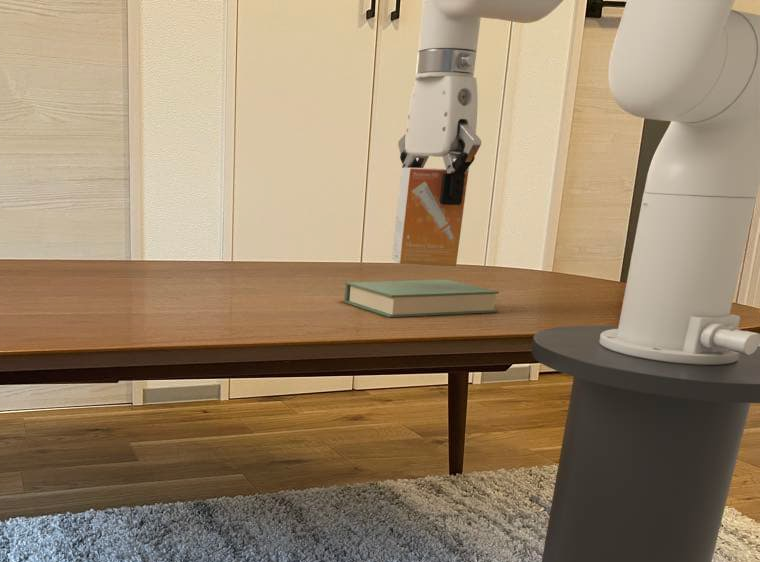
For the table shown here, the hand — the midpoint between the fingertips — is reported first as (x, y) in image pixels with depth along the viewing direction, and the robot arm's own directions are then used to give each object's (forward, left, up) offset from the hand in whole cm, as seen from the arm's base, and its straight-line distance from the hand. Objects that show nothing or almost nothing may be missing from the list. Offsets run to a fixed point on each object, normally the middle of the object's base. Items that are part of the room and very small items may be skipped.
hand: (430, 202), depth 109 cm
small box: (0, 0, -9) cm, 9 cm away
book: (0, 0, -15) cm, 15 cm away
